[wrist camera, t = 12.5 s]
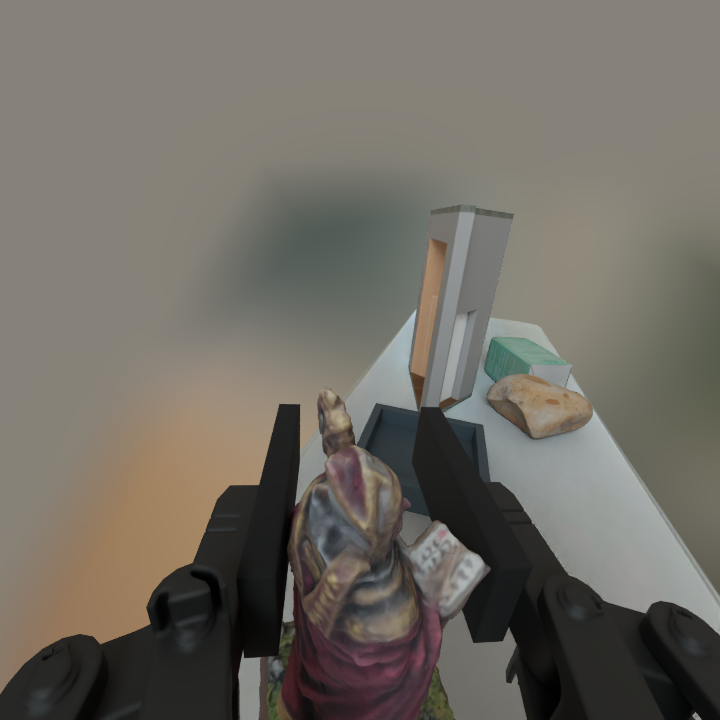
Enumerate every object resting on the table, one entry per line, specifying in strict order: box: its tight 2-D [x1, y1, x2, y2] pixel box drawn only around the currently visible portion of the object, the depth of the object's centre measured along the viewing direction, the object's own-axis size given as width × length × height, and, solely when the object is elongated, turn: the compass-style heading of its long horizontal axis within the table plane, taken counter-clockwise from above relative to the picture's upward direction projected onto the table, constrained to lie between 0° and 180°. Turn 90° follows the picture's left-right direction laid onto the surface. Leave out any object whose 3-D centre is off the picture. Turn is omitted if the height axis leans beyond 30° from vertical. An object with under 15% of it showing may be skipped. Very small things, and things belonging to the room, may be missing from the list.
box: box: [485, 337, 572, 388], centre depth 59 cm, size 7×14×8 cm, turn 6°
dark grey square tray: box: [357, 403, 490, 516], centre depth 38 cm, size 14×14×3 cm
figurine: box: [259, 387, 491, 720], centre depth 9 cm, size 6×6×12 cm
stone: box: [487, 374, 593, 439], centre depth 48 cm, size 14×11×8 cm
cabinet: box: [409, 205, 514, 412], centre depth 50 cm, size 21×10×28 cm, turn 177°
